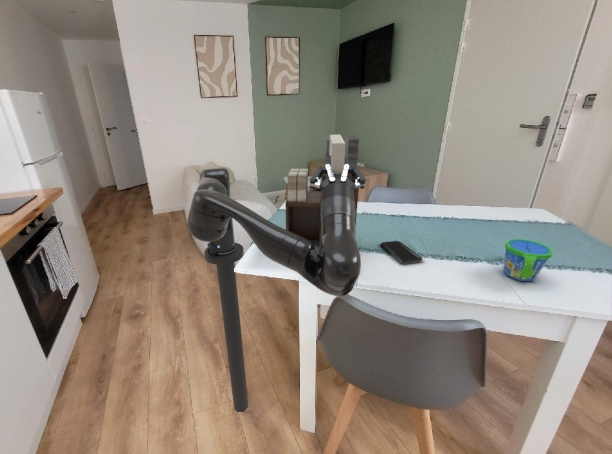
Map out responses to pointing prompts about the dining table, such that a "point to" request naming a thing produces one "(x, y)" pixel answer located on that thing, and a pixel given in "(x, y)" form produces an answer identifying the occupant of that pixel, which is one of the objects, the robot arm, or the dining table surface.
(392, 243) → the phone
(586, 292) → the dining table surface
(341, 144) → the white book
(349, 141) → the bookcase
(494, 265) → the dining table surface
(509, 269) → the snack cup
